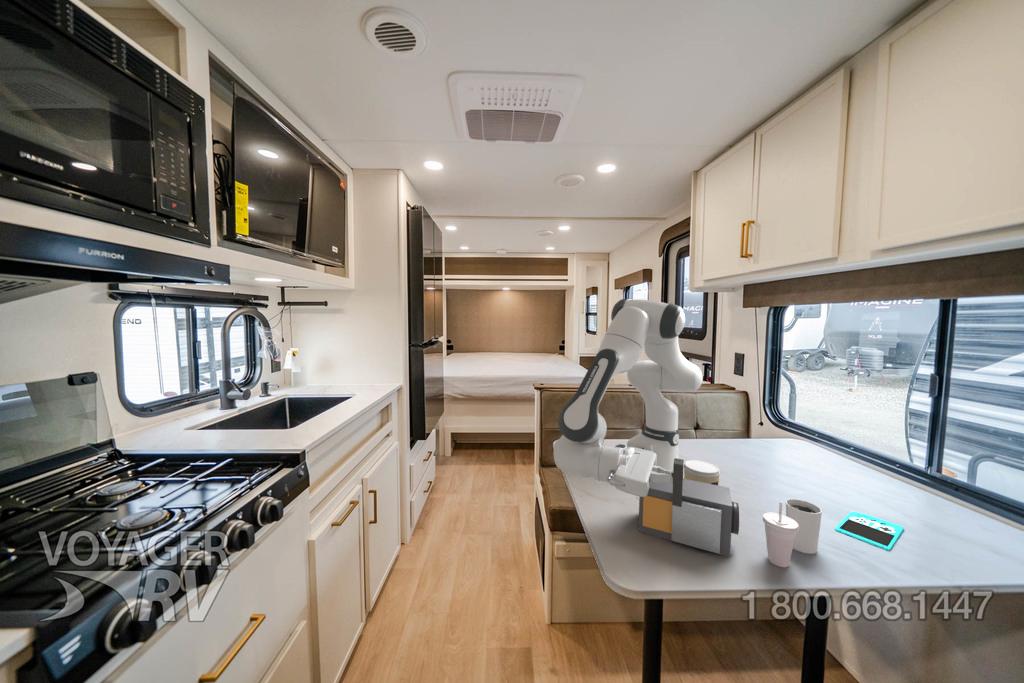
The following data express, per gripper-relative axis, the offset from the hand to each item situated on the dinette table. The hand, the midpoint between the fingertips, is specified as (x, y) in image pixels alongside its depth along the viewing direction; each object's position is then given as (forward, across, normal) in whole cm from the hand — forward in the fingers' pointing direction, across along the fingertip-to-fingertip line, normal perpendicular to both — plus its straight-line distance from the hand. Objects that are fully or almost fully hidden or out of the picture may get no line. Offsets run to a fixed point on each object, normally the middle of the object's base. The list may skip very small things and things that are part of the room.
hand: (673, 477), depth 82 cm
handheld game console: (+45, +32, +18) cm, 58 cm away
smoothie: (+22, +6, +17) cm, 28 cm away
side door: (+5, 0, +16) cm, 17 cm away
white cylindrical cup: (+28, +15, +17) cm, 36 cm away
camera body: (+2, +7, +17) cm, 18 cm away
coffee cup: (+6, +24, +17) cm, 30 cm away
